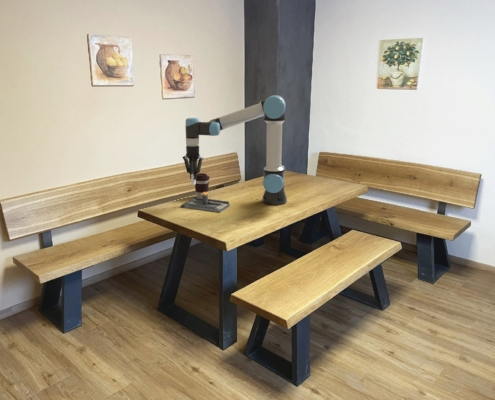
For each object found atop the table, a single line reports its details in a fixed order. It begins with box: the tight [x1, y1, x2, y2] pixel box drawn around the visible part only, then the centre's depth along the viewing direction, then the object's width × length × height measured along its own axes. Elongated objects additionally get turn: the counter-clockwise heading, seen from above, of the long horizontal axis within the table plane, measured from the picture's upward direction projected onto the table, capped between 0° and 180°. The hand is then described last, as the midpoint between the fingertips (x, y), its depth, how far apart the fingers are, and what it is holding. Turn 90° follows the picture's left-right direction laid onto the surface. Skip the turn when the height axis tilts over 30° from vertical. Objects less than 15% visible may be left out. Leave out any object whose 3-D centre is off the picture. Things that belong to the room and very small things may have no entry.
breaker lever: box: [201, 191, 209, 205], centre depth 248 cm, size 2×4×7 cm, turn 157°
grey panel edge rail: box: [180, 198, 194, 209], centre depth 253 cm, size 2×14×2 cm, turn 158°
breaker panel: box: [184, 199, 231, 213], centre depth 249 cm, size 26×13×2 cm, turn 68°
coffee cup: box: [194, 172, 210, 198], centre depth 266 cm, size 10×10×15 cm
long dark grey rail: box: [192, 197, 230, 204], centre depth 258 cm, size 24×3×2 cm, turn 68°
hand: (193, 184), depth 248 cm, fingers closed
